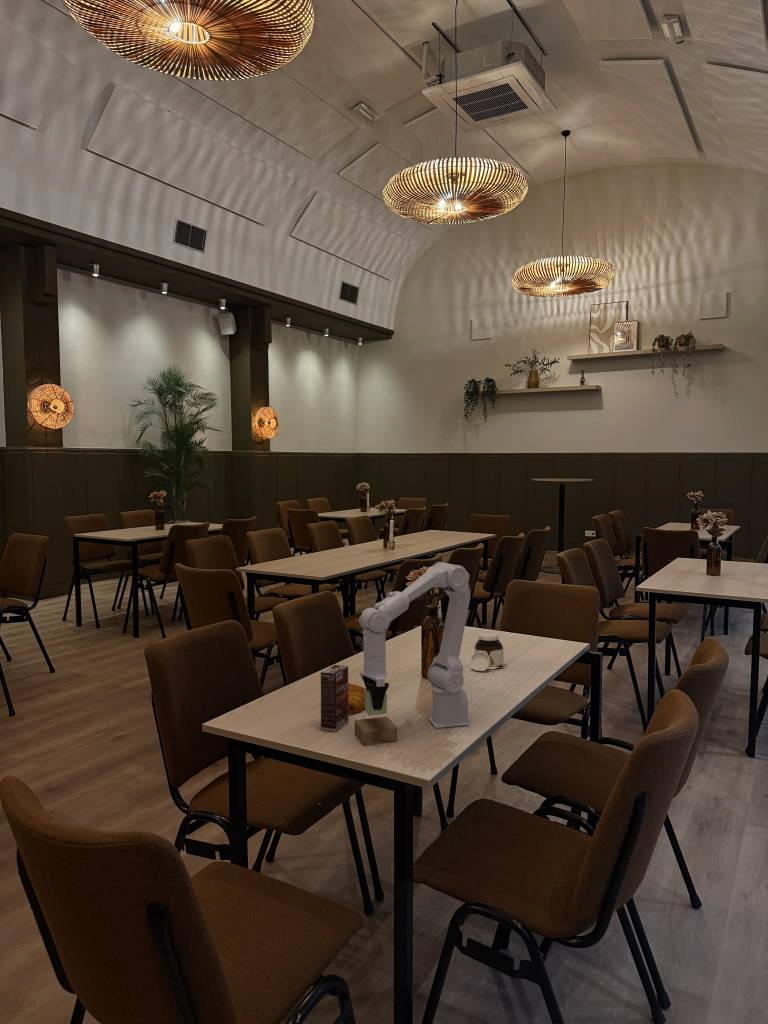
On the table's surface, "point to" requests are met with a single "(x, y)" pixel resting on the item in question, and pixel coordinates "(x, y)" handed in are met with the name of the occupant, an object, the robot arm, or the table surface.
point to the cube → (369, 707)
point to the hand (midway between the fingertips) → (375, 706)
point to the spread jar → (487, 652)
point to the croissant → (355, 698)
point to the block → (375, 731)
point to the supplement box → (334, 698)
